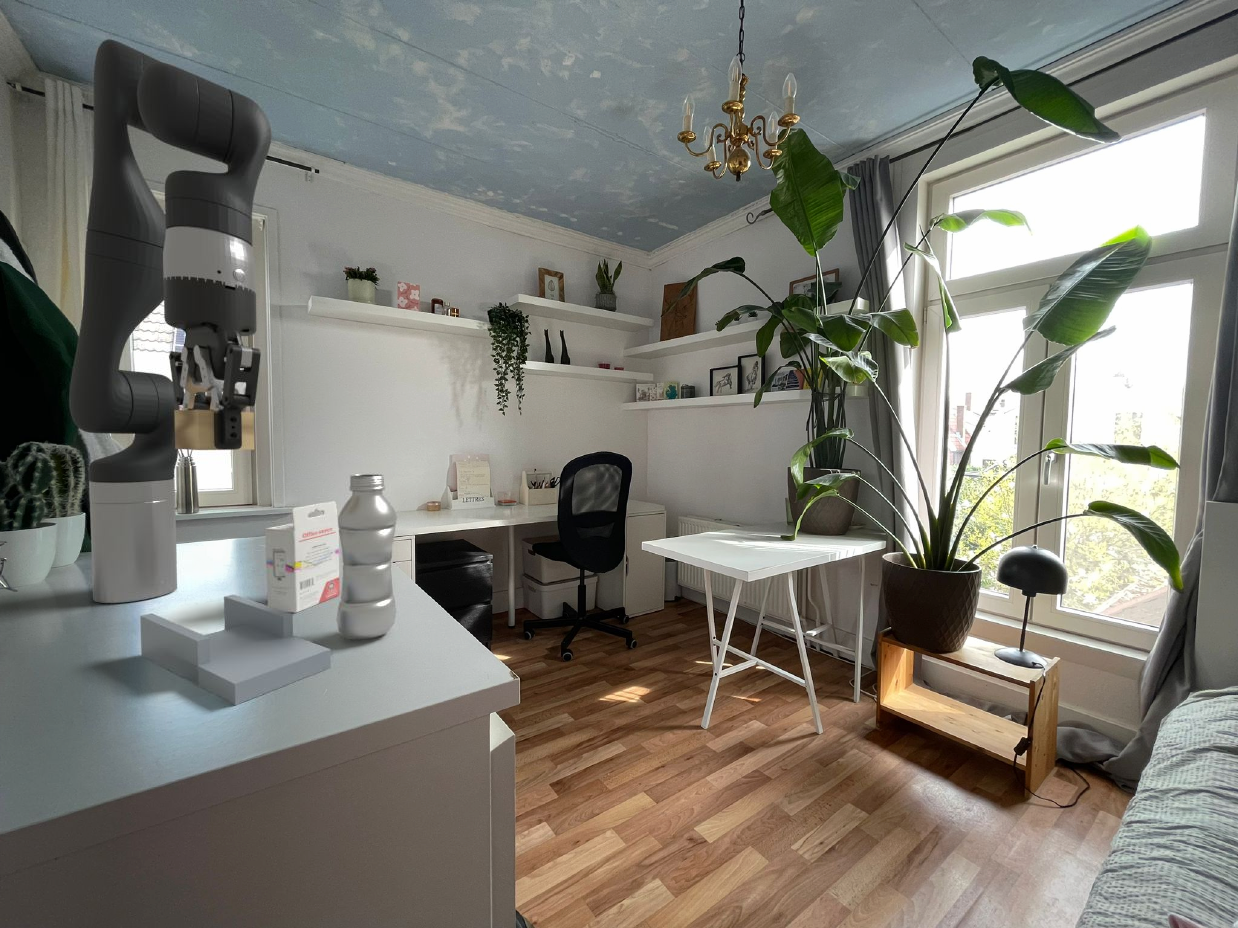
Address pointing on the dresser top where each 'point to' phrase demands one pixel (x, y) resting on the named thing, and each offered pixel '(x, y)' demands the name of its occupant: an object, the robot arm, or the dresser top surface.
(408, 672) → the dresser top surface
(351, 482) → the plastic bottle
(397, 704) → the dresser top surface
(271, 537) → the ink cartridge box
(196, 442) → the oak block
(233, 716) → the dresser top surface
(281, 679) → the grey angular piece
